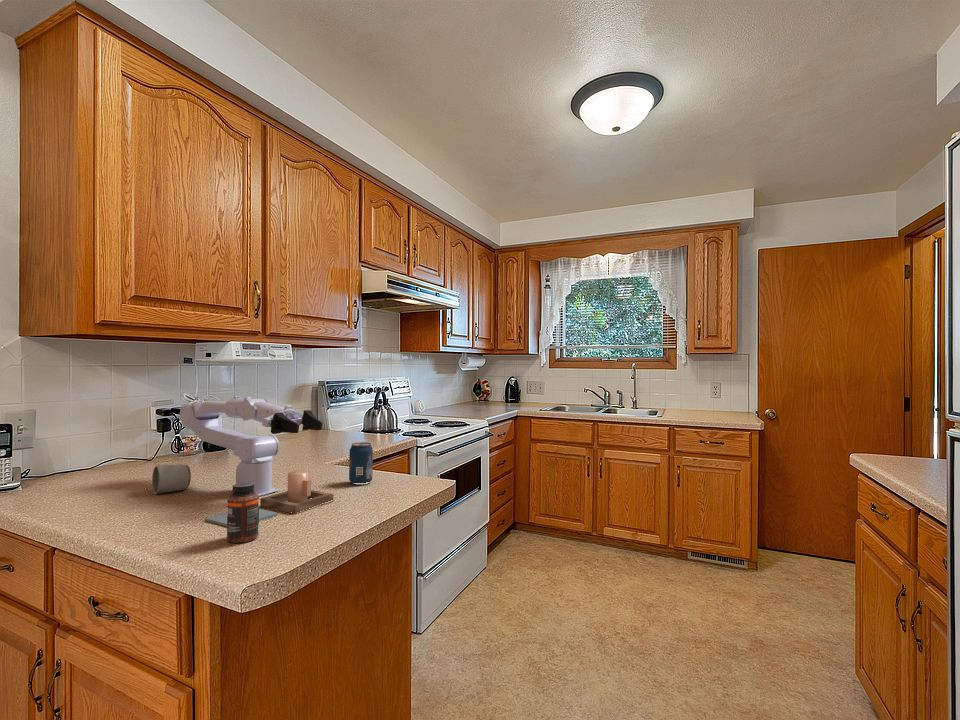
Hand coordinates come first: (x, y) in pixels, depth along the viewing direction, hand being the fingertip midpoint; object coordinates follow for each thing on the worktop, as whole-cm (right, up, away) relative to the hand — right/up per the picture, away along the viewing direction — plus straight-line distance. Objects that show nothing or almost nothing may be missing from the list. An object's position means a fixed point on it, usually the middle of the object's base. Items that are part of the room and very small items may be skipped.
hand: (309, 427), depth 125 cm
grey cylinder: (-43, -20, +10) cm, 49 cm away
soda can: (+8, -20, +22) cm, 31 cm away
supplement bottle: (-5, -20, -26) cm, 33 cm away
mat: (-11, -19, -13) cm, 26 cm away
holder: (-3, -20, -1) cm, 20 cm away
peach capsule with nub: (-3, -20, -1) cm, 20 cm away
